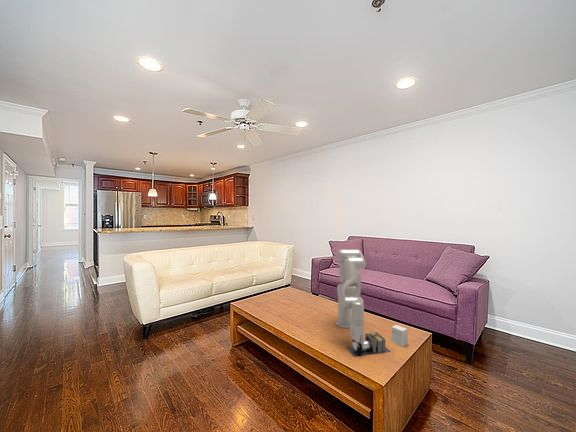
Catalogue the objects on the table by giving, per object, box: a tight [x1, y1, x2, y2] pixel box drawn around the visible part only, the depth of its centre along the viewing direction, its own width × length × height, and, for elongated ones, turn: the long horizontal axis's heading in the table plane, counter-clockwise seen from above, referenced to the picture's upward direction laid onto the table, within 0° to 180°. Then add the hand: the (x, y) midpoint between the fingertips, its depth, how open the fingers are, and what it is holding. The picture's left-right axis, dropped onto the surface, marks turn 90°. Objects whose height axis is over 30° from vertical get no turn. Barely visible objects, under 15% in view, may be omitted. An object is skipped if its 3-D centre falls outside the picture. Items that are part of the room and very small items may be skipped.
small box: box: [391, 324, 408, 347], centre depth 169 cm, size 8×6×10 cm
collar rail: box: [345, 331, 392, 358], centre depth 161 cm, size 11×25×9 cm, turn 103°
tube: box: [351, 339, 377, 351], centre depth 161 cm, size 18×5×5 cm, turn 102°
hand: (357, 349), depth 160 cm, fingers closed on tube, 5 cm apart
